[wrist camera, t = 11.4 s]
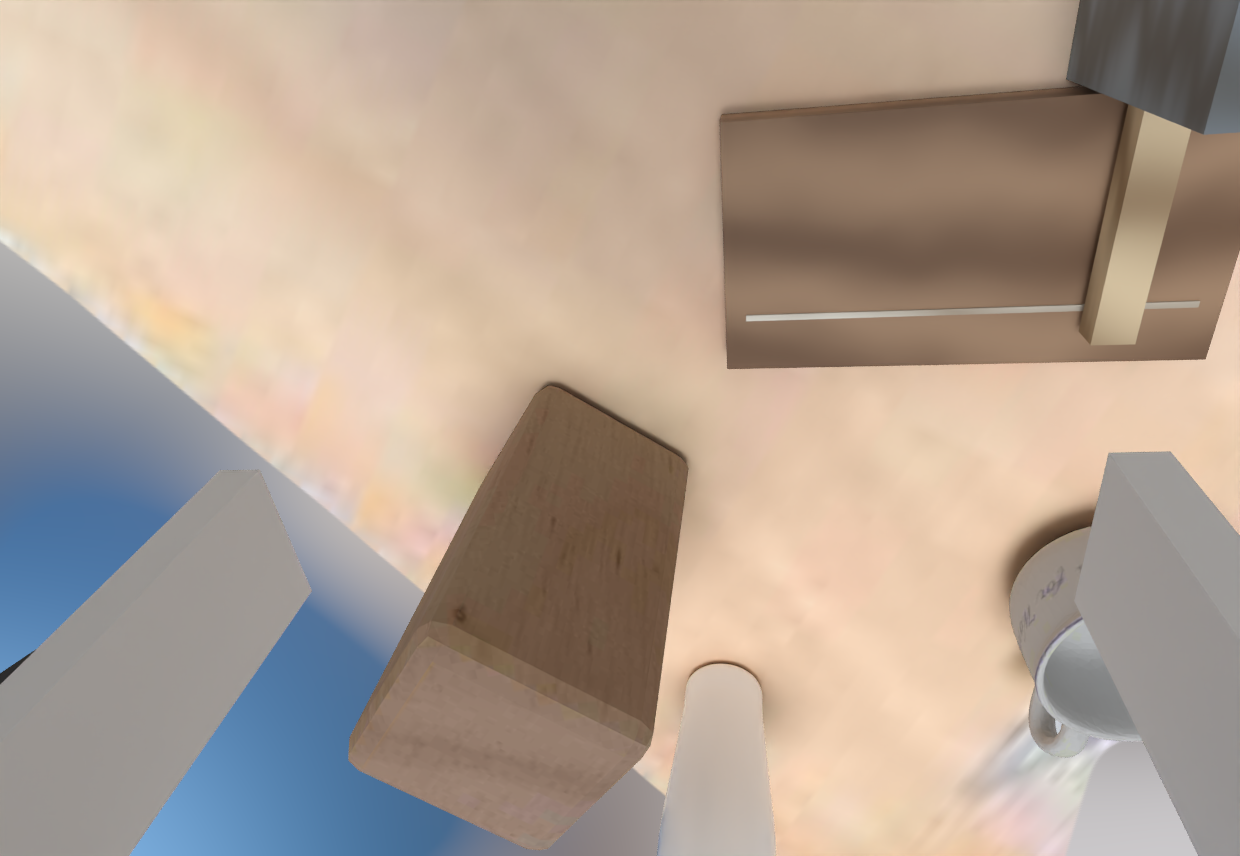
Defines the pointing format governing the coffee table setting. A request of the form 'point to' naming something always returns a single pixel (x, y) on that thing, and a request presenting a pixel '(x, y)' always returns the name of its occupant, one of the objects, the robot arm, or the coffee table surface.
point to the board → (954, 233)
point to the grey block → (1150, 131)
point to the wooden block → (537, 631)
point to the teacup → (1064, 654)
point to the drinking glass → (719, 771)
